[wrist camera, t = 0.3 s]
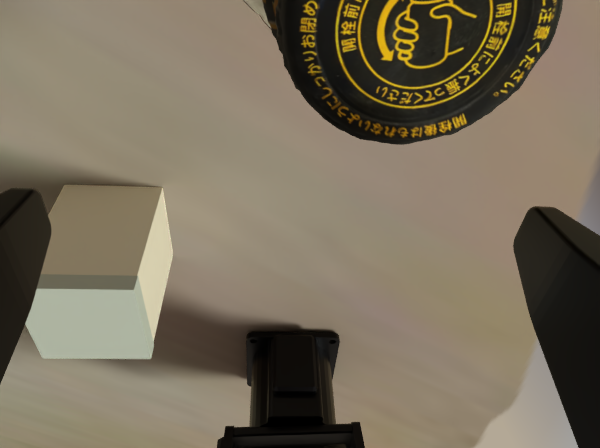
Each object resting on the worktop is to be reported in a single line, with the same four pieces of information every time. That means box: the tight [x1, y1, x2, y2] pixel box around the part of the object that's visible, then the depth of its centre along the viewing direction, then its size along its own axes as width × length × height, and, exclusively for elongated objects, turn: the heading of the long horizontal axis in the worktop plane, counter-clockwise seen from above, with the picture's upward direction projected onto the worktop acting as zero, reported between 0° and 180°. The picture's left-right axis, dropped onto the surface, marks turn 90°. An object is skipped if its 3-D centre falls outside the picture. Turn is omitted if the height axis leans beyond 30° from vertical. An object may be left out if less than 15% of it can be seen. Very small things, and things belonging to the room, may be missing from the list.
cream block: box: [25, 185, 173, 359], centre depth 25 cm, size 5×5×7 cm
